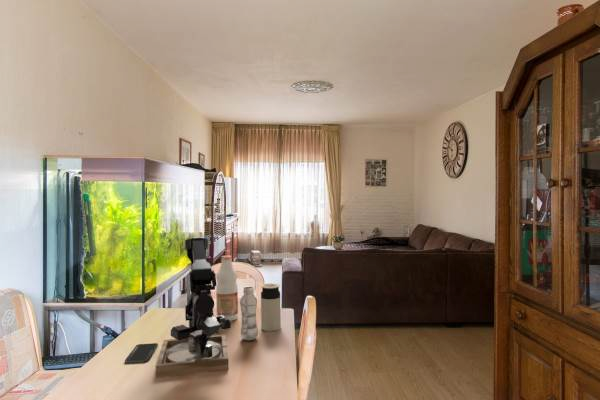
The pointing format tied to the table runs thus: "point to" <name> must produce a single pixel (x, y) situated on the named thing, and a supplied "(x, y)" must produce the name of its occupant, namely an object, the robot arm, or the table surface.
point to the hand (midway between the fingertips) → (201, 354)
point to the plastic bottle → (248, 314)
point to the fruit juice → (227, 290)
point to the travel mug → (270, 307)
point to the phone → (141, 353)
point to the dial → (192, 351)
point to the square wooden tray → (194, 365)
